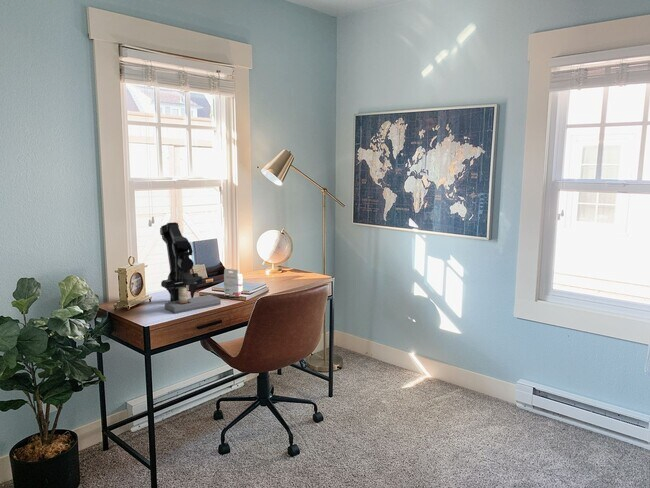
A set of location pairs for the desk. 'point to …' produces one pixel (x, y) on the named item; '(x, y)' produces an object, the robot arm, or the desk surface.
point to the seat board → (193, 304)
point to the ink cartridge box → (233, 282)
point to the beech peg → (183, 295)
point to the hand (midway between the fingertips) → (183, 299)
